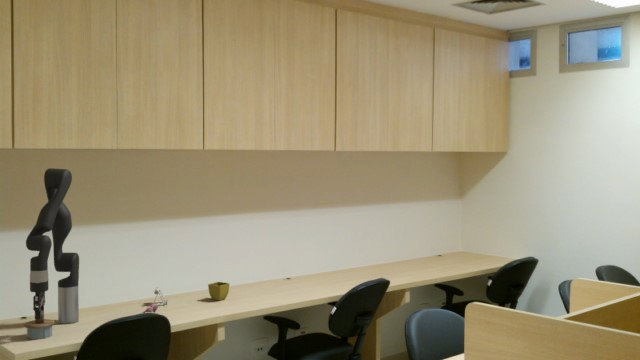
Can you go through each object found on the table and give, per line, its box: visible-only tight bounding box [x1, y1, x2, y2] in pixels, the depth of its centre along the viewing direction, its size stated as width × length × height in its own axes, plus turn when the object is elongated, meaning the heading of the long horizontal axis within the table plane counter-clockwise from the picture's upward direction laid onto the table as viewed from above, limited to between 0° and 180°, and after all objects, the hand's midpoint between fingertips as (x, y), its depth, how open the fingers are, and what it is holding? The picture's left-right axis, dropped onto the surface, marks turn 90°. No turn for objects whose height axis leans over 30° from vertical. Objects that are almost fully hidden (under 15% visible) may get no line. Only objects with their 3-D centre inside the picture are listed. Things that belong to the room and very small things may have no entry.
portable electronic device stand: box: [152, 287, 169, 306], centre depth 355 cm, size 9×8×8 cm
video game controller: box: [142, 303, 159, 314], centre depth 328 cm, size 10×5×7 cm, turn 171°
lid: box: [24, 310, 55, 329], centre depth 290 cm, size 12×12×6 cm
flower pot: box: [207, 281, 230, 301], centre depth 366 cm, size 9×9×9 cm
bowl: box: [26, 325, 53, 340], centre depth 290 cm, size 10×10×5 cm
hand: (39, 316), depth 290 cm, fingers open, 8 cm apart
